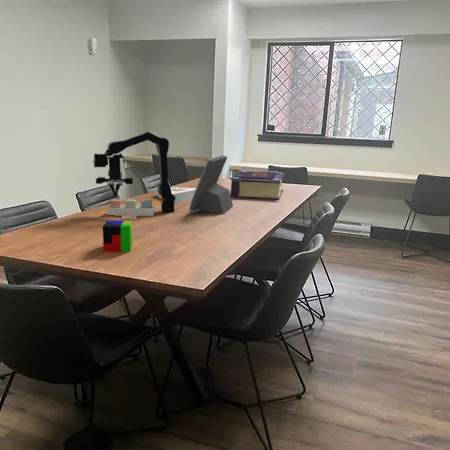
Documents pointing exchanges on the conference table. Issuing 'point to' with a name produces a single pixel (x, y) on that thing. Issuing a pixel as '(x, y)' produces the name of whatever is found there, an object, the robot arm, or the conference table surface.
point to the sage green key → (131, 203)
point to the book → (257, 185)
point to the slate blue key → (146, 204)
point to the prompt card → (129, 217)
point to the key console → (131, 211)
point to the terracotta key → (115, 203)
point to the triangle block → (181, 194)
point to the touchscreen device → (211, 189)
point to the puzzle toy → (117, 236)
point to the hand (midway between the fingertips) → (115, 196)
